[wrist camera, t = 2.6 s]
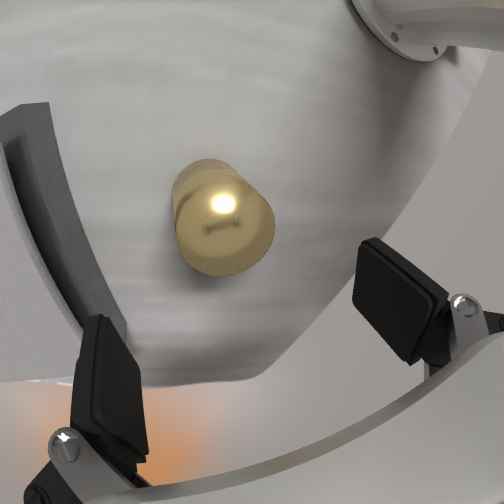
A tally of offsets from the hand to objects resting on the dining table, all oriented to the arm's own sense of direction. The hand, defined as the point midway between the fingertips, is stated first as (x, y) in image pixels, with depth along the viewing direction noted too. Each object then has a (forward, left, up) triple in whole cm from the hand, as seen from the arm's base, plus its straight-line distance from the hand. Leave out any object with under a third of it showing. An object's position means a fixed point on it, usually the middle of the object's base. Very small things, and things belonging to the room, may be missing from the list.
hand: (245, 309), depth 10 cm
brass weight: (-1, 0, -11) cm, 11 cm away
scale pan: (+15, 0, -6) cm, 17 cm away
